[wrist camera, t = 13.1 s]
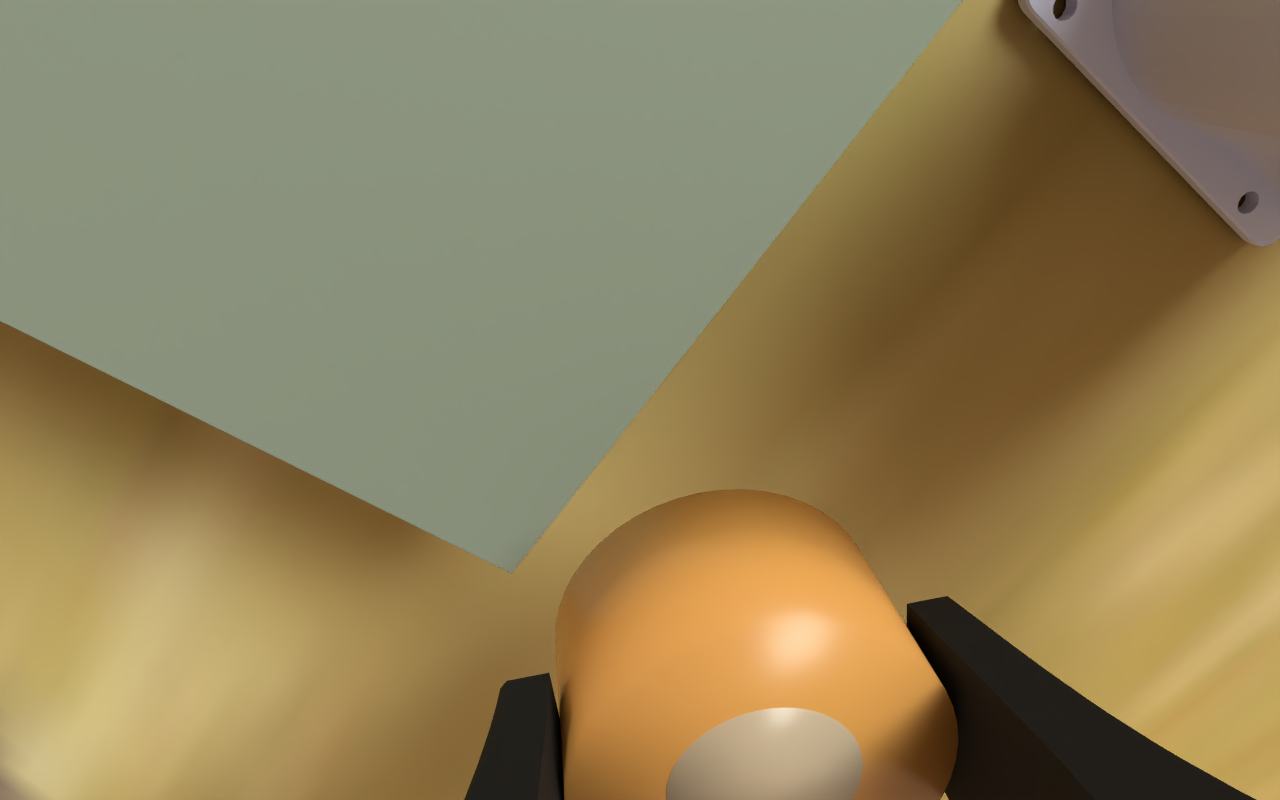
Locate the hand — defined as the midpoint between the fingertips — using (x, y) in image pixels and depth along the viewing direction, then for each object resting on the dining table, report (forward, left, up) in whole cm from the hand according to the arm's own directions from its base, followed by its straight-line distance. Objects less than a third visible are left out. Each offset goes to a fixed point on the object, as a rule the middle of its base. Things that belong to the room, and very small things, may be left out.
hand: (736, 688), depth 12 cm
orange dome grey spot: (0, 0, -1) cm, 1 cm away
